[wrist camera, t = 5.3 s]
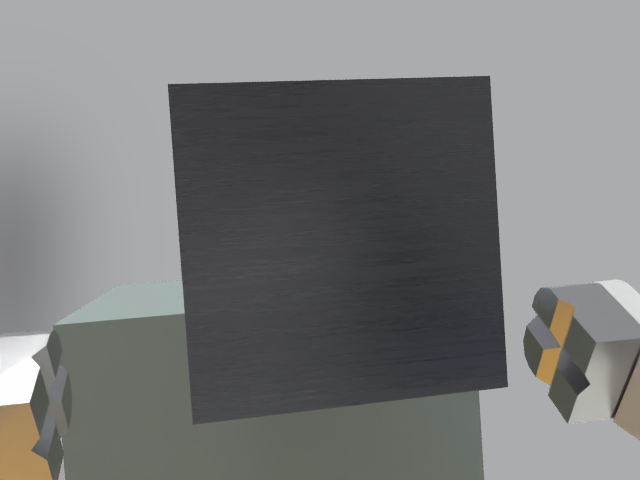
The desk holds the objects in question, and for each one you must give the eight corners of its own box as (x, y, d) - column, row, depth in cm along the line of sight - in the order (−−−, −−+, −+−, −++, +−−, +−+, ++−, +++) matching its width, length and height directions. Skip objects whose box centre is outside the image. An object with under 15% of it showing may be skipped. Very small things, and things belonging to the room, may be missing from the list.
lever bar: (507, 386, 8) (490, 75, 8) (192, 424, 7) (167, 84, 7) (286, 268, 32) (280, 191, 31) (207, 275, 31) (201, 195, 31)
